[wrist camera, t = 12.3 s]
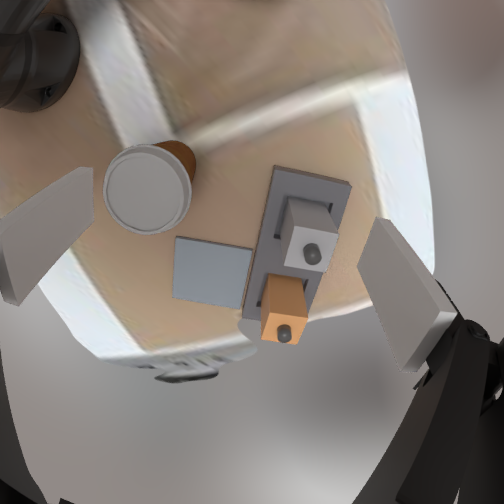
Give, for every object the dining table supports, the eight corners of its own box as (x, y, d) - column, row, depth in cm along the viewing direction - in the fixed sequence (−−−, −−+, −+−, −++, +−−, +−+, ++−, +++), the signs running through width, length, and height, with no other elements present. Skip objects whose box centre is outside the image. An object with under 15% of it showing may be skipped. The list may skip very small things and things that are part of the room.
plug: (261, 297, 49) (260, 348, 40) (268, 271, 46) (270, 320, 37) (291, 303, 49) (297, 353, 40) (301, 277, 47) (309, 326, 38)
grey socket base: (242, 309, 51) (238, 362, 41) (274, 165, 39) (279, 195, 29) (301, 318, 52) (308, 370, 42) (347, 181, 40) (375, 216, 30)
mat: (173, 295, 50) (172, 297, 49) (176, 235, 44) (175, 237, 44) (240, 306, 51) (239, 309, 50) (252, 248, 45) (252, 250, 45)
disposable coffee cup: (208, 198, 41) (190, 241, 31) (141, 196, 41) (105, 236, 31) (209, 128, 37) (188, 146, 26) (137, 129, 37) (94, 149, 26)
